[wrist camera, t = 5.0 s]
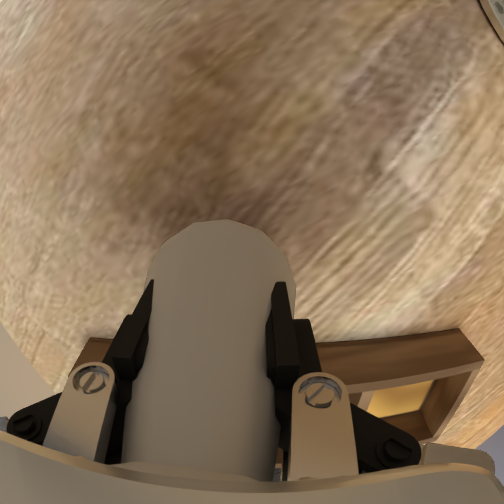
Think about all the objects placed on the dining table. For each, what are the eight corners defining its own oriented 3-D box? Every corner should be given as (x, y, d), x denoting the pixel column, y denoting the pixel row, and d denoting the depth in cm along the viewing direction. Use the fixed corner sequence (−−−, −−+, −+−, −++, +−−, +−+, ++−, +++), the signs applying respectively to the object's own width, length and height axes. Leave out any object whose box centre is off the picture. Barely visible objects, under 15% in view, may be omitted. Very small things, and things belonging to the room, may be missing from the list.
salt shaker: (177, 319, 16) (109, 579, 4) (151, 212, 14) (-48, 496, 2) (292, 310, 16) (333, 593, 4) (285, 197, 13) (399, 576, 1)
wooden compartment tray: (89, 337, 19) (68, 375, 16) (458, 328, 20) (484, 359, 17) (123, 423, 23) (112, 458, 20) (420, 411, 24) (435, 442, 20)
